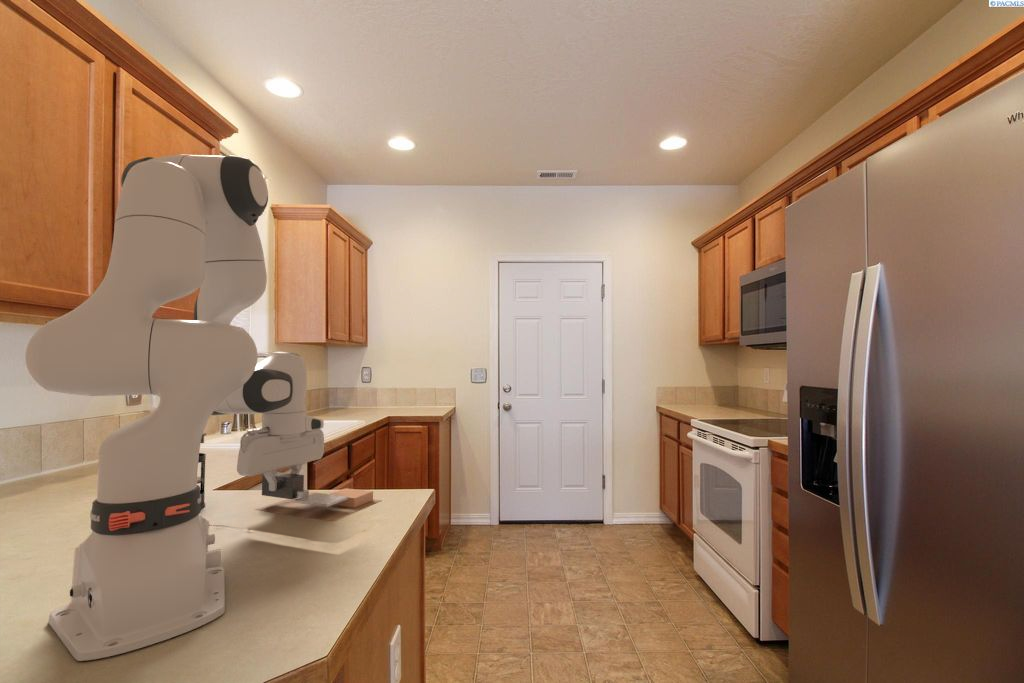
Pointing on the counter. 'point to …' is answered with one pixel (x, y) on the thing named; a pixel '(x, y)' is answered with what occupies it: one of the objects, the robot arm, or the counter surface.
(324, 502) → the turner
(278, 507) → the board
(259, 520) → the counter surface
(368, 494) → the tile
